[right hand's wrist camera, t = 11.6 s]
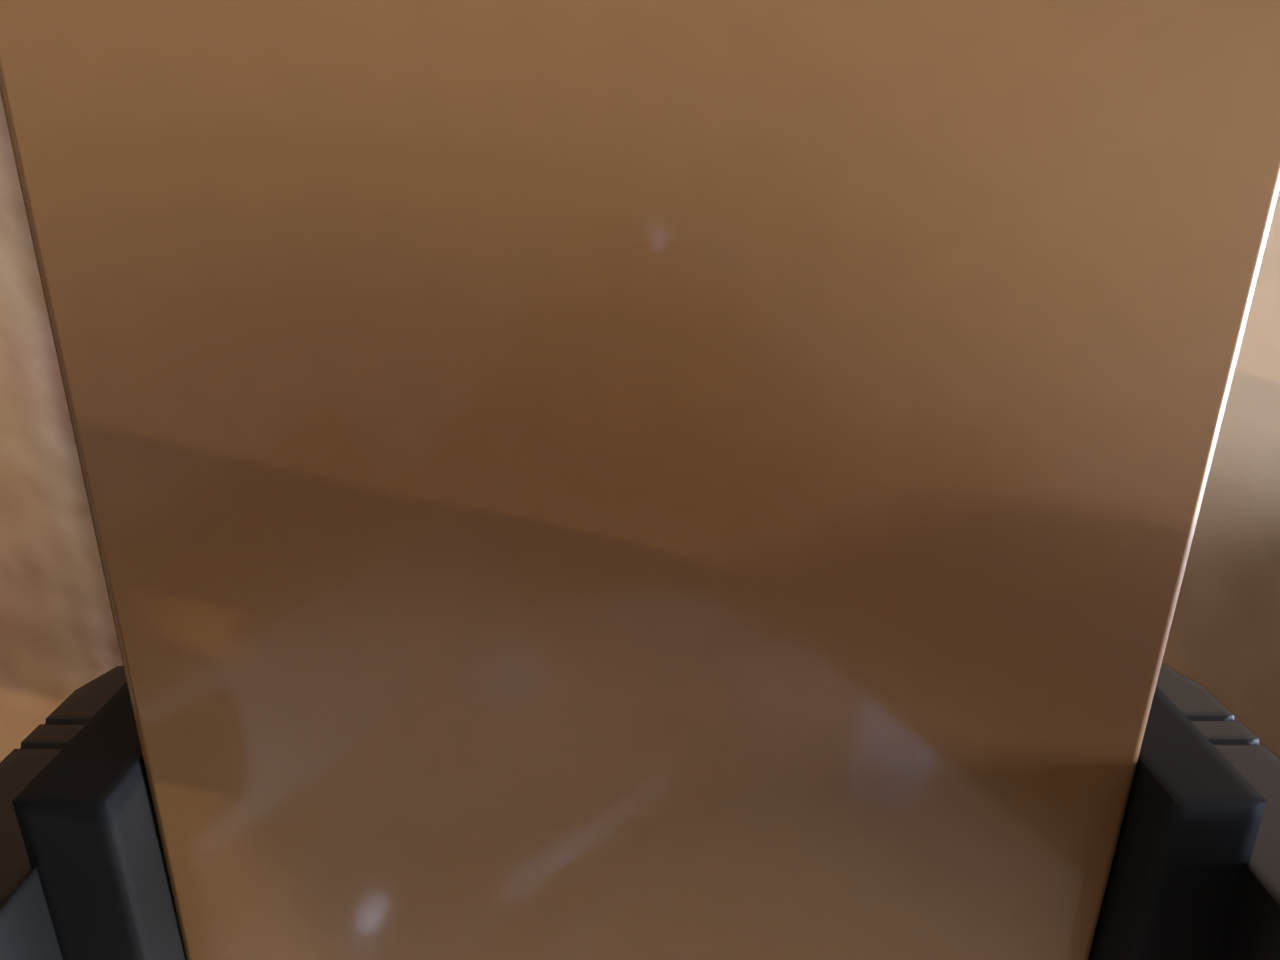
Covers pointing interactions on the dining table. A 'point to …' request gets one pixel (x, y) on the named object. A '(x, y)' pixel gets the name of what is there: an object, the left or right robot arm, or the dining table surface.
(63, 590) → the dining table surface
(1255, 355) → the dining table surface
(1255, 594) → the dining table surface
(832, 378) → the beam
